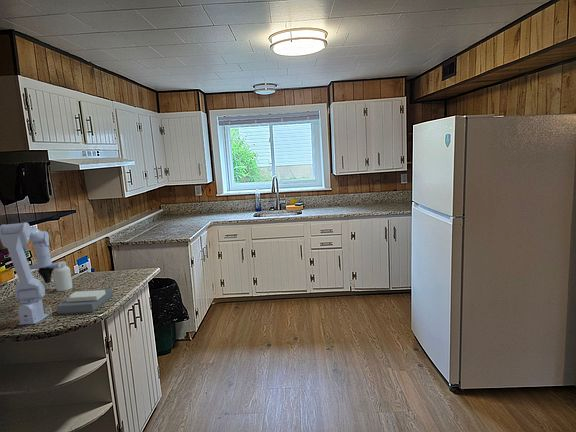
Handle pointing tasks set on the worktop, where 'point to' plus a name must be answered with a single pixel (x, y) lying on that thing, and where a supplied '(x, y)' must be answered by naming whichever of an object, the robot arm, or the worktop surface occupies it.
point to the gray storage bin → (84, 304)
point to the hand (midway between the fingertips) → (48, 282)
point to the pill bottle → (62, 277)
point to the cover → (85, 296)
